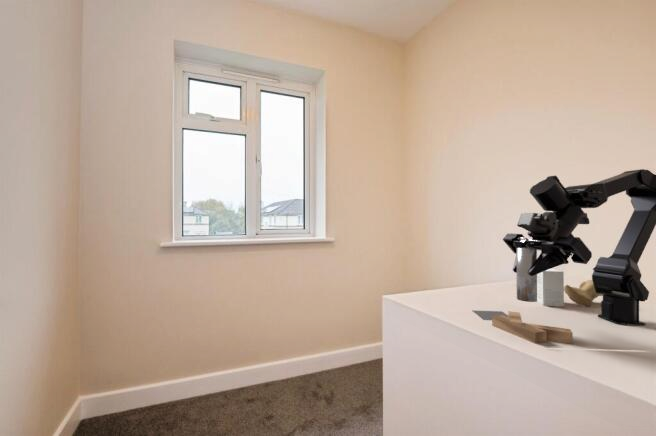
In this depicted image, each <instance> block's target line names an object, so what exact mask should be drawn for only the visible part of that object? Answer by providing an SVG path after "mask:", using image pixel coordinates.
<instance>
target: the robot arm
mask: <svg viewBox="0 0 656 436" xmlns="http://www.w3.org/2000/svg"><path fill="white" fill-rule="evenodd" d="M623 192H625V195H627V196H628V198H630V203H631V205H632V208H633V212H632V214H631V216H630V218H629V220H628V222H627V224H626V226H625V228H624V231H623V233H622V234H621V236H620V238H619V240H618V242H617V245H616V246H615V248H614V251H613V253H612V255H610V256H609V257H605V256H600V257H599V258H598V260H597V263H596V264H595V267H593V268H592V270H593V272H592V274H591V280H593V284H594V287H595V291H596V293H600V294H605V295H603V296H602V300H601V301H600V306H601V307H600V311H601V312H600V313H599V314H597V317H599V318H602V319H604V320H606V321H610V322H612V323H614V324H617V325H633V326H634V325H636V326H640V325H641V326H646V322H644V321H641V320H640V302H645V301H647V300H648V298H649V294H650V291H649V289H648V288H647V287H646V286H645V284H644V283H643V282H642V281H641V279H642V273H641V270H640V268H639V265H638V263H639V261H640V259H641V257H642V255H643V253H644V250H646V249H645V248H646V246H647V245H648V242H649V241H650V238H651V236H652V234H653V232H654V230H655V227H656V173H655V174H654V173H653V172H652V171H651V170H650V169H644V168H642V169H634V170H626V171H624V172H622V173H619V174H617V175H614V176H611V177H608V178H605V179H602V180H600V181H597V182H595V183H588V184H579V185H568V186H566V187H565V186H564V185H563V184H562V182H561V181H560V179H559V177H558V176H557V175H548V176H547V177H546V178H545V179H543V180H541V181H539V182H538V183H536V184H534V185H532V186H531V187H530V189H529V194H530V195H531V196H532V198H533V199H534V200H535V201H536V202H537V203H538V205H539V206H540V207H541V208H542V210H544V212H543V213H536V212H522V213H520V215H519V216H520V217H519V219H518V222H517V224H516V226H517V227H519V228H522V229H524V230H526V231H528V232H527V233H526V234H527V235H528V237H530V238H532V239H528V238H527V237H525V236H524V235H523V234H522V233H506V234H505V236H504V237H502V241H503V242H504V243H505V244H506V245H507V247H509V249H510V250H511V251H512V253H513V254H515V255H516V248H517V247H527V248H537V252H540V254H539V255H538V256H537V260H536V261H535V263H534V264H533V265H532V267H531V269H530V270H529V272H528V273H529V275H530V276H534V275H536V274H539V273H541V272H543V271H546V270H548V269H551V268H552V269H554V268H556V267H559V266H562V265H568V264H569V263H570V261H569V260H568V259H569V258H571V260H572V262H573V263H575V264H583V265H587V264H588V263H589V261H590V260H591V258H592V257H593V256H592V255H593V254H592V251H591V250H590V249H589V248H588V246H587V245H586V244H585V242H584V241H583V240H582V238H580V237H577V236H574V235H573V232H574V230H575V229H576V228H577V227H578V225H590V219H589V218H588V212H584V210H583V209H595V208H596V209H597V208H599V207H601V206H602V205H604V204H605V203H607V201H609V200H608V199H609V197H613V196H614V195H617V194H620V193H623ZM512 272H514V273H515V274H517V267H516V257H515V259H514V263H513V266H512Z"/></svg>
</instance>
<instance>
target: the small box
mask: <svg viewBox="0 0 656 436" xmlns="http://www.w3.org/2000/svg"><path fill="white" fill-rule="evenodd" d="M564 276H565V275H564V271H563V270H558V269H555V268H551V269H548V270H546V271H543V272H541V273H539V274H537V301H536V302H535V303H538V304H540V305H542V306H544V307H556V308H557V307H559V308H560V307H561V308H563V307H565V298H564V297H565V291H564V287H565V286H564Z"/></svg>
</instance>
